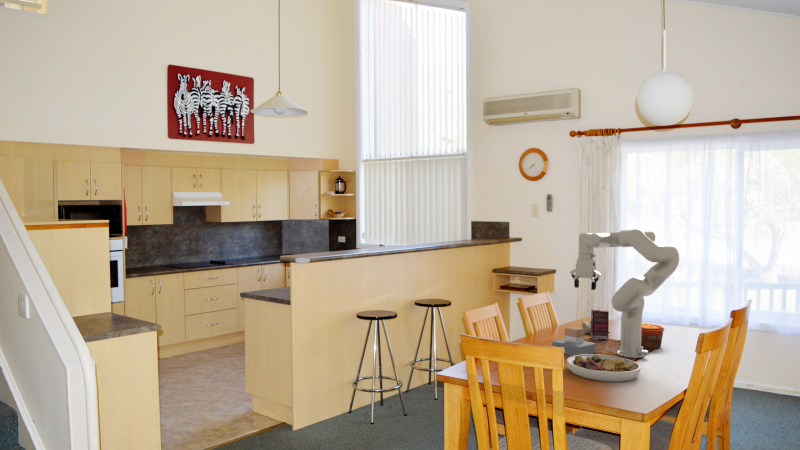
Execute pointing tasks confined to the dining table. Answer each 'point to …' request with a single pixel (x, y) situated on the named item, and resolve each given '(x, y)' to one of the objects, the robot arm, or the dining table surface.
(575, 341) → the housing
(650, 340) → the food container
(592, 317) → the supplement box
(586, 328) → the ceramic sculpture
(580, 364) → the bowl
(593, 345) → the stand
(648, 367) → the dining table surface
